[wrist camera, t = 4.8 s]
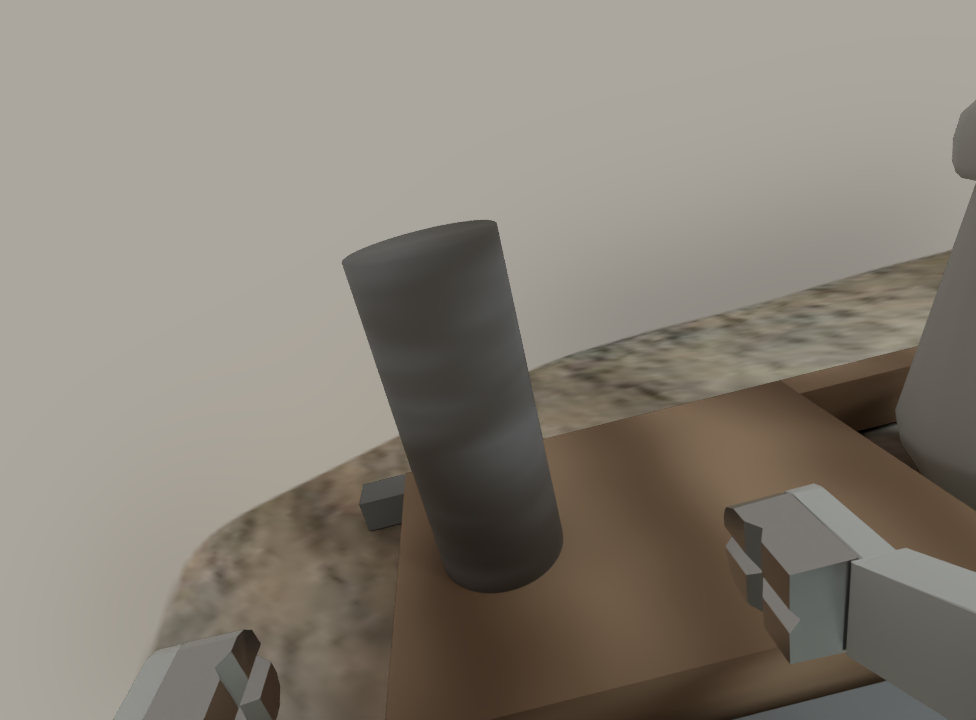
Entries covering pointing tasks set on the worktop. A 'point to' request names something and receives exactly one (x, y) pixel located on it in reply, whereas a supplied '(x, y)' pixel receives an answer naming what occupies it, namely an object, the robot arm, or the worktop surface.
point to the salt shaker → (948, 356)
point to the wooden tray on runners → (602, 513)
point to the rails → (843, 716)
